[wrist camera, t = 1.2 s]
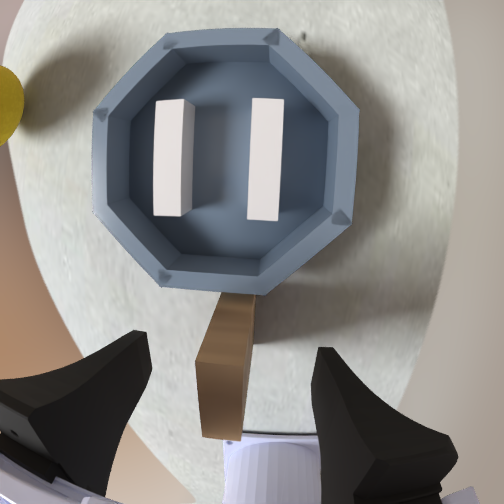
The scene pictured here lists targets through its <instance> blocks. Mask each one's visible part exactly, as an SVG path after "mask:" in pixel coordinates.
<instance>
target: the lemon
mask: <svg viewBox="0 0 504 504" xmlns="http://www.w3.org/2000/svg"><path fill="white" fill-rule="evenodd" d="M23 109H24V92H23V88H22V85H21V83H20V81H19V79H18V78H17V76H16V75H15V74H14V73H13V72H12V71H11V70H9V69H8V68H6V67H3V66H1V65H0V146H1V145H3V144H4V143H5V142H6V141H7V140H8V139H9V138H10V137H11V135H12V134H13V133H14V131H15V130H16V128H17V126H18V124H19V122H20V120H21V117H22V114H23Z"/></svg>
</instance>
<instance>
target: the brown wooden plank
mask: <svg viewBox="0 0 504 504" xmlns="http://www.w3.org/2000/svg"><path fill="white" fill-rule="evenodd" d="M255 301H256V295H254V294H240V293H227V292H222V293H221V295H220V298H219V301H218V303H217V306H216V308H215V311H214V313H213V316H212V319H211V321H210V324H209V326H208V329H207V332H206V334H205V337H204V339H203V342H202V345H201V347H200V350H199V352H198V355H197V358H196V360H195V366H196V379H197V390H198V401H199V411H200V420H201V429H202V437H206V438H213V439H221V440H230V441H240V442H241V436H242V429H243V421H244V413H245V406H246V398H247V390H248V382H249V374H250V366H251V358H252V350H253V337H254V319H255Z"/></svg>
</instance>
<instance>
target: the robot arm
mask: <svg viewBox="0 0 504 504" xmlns="http://www.w3.org/2000/svg"><path fill="white" fill-rule="evenodd" d="M151 372H152V363H151V357H150V351H149V345H148V339H147V332H143V331H137V330H133V331H131V332H129V333H127V334H126V335H124V336H122V337H121V338H119V339H117V340H116V341H114V342H112V343H111V344H109V345H107V346H105V347H104V348H102V349H100V350H99V351H97V352H95V353H93V354H91V355H89V356H87V357H85V358H83V359H81V360H79V361H77V362H75V363H73V364H70V365H68V366H65V367H63V368H60V369H57V370H53V371H50V372H47V373H43V374H40V375H35V376H30V377H24V378H16V379H2V380H0V431H1V434H0V503H1V504H122V503H119V502H116V501H113V500H111V499H108V498H105V495H106V490H107V485H108V480H109V476H110V472H111V468H112V464H113V461H114V457H115V454H116V451H117V448H118V445H119V442H120V439H121V436H122V434H123V431H124V429H125V426H126V424H127V422H128V420H129V418H130V417H131V415H132V413H133V411H134V409H135V407H136V405H137V403H138V402H139V400H140V398H141V396H142V394H143V392H144V390H145V388H146V386H147V383H148V380H149V377H150V375H151ZM311 397H312V408H313V413H314V419H315V424H316V430H317V436H289V435H264V434H249V433H242V436H241V442H240V441H230V440H223V450H224V472H225V489H224V495H223V501H222V504H480V503H479V500H478V498H477V496H476V493H475V490H474V488H473V487H472V486H470V487H468V488H466V489H463V490H460V491H458V492H455V493H452V494H450V495H447V496H445V497H444V498H442V499H440V496H439V493H440V492H441V491H442V487H441V484H440V482H441V480H442V479H443V478H444V477H445V476H446V475H447V474H448V473H449V472H450V471H451V469H452V468H453V467H454V465H455V464H456V462H457V459H458V454H457V451H456V449H455V447H454V445H453V443H452V441H451V439H450V437H449V436H448V435H446V434H443V433H440V432H437V431H435V430H432V429H430V428H427V427H425V426H423V425H421V424H419V423H417V422H415V421H413V420H411V419H409V418H408V417H406V416H404V415H403V414H401V413H399V412H398V411H396V410H395V409H393V408H392V407H391V406H389V405H388V404H387V403H385V402H384V401H383V400H382V399H380V398H379V397H378V396H377V395H375V394H374V393H373V392H372V391H371V390H370V389H369V388H368V387H367V386H366V385H365V384H364V383H363V382H362V381H361V380H360V379H359V378H358V377H357V376H356V375H355V373H354V372H353V371H352V370H351V369H350V368H349V367H348V365H347V364H346V363H345V362H344V360H343V359H342V358H341V357H340V355H339V354H338V353H337V352H336V351H335V349H334V348H333V347H318V352H317V357H316V362H315V367H314V372H313V376H312V381H311ZM320 470H321V478H320Z"/></svg>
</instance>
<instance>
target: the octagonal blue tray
mask: <svg viewBox="0 0 504 504" xmlns="http://www.w3.org/2000/svg"><path fill="white" fill-rule="evenodd" d="M359 112H360V110H359V108H357V106H356V105H355V104H354V103H353V102H352V101H351V100H350V98H349V97H348V96H347V95H346V94H345V93H344V92H343V91H342V90H341V88H340V87H339V86H338V85H337V84H336V83H335V82H334V81H333V80H332V79H331V78H330V77H329V76H328V75H327V74H326V73H325V72H324V71H323V70H322V69H321V68H320V67H319V66H318V65H317V64H316V63H315V62H314V61H313V60H312V59H311V58H310V57H309V56H308V55H307V54H306V53H305V52H304V51H303V50H302V49H300V48H299V47H298V46H297V45H296V44H295V43H294V42H293V41H292V40H291V39H289V38H288V37H287V36H286V35H285V34H284V33H283V32H281V31H280V29H278V28H276V29H272V28H224V29H206V30H194V31H183V32H175V33H167V34H165V35H164V36H163V37H162V38H161V39H160V40H159V41H158V42H157V43H156V44H155V45H153V46H152V47H151V48H150V49H149V50H148V51H147V52H146V53H145V54H144V55H143V56H142V57H141V58H140V59H139V60H138V61H137V62H136V63H135V64H134V65H133V66H132V67H131V68H130V70H129V71H128V72H127V73H126V74H125V75H124V76H123V77H122V78H121V79H120V80H119V81H118V83H117V84H116V85H115V86H114V87H113V88H112V89H111V91H110V92H109V93H108V94H107V95H106V96H105V98H104V99H103V100H102V101H101V102H100V104H99V105H98V106H97V107H96V109H95V110H94V111H93V129H92V205H93V211H92V212H93V214H95V215H96V217H97V218H98V219H99V220H100V221H101V222H102V224H103V225H104V226H105V227H106V228H107V229H108V231H109V232H110V233H111V234H112V235H113V236H114V237H115V238H116V240H117V241H118V242H119V243H120V244H121V245H122V246H123V247H124V248H125V250H126V251H127V252H128V253H129V254H130V255H131V256H132V257H133V258H134V259H135V260H136V262H137V263H138V264H139V265H140V266H141V267H142V268H143V269H144V270H145V271H146V272H147V273H148V274H149V275H150V276H151V277H152V278H153V279H154V280H155V282H156V283H157V284H158V285H159V287H161V288H162V287H169V288H180V289H191V290H202V291H214V292H227V293H240V294H254V295H263V296H265V295H267V293H269V292H270V291H271V290H272V289H274V288H275V287H276V286H277V285H279V284H280V283H281V282H282V281H284V280H285V279H286V278H287V277H289V276H290V275H291V274H292V273H294V272H295V271H296V270H297V269H298V268H300V267H301V266H302V265H303V264H305V263H306V262H307V261H308V260H309V259H311V258H312V257H313V256H314V255H316V254H317V253H318V252H319V251H320V250H322V249H323V248H324V247H325V246H326V245H328V244H329V243H330V242H331V241H332V240H334V239H335V238H336V237H337V236H338V235H340V234H341V233H342V232H343V231H344V230H345V229H347V228H348V227H349V226H351V224H352V215H353V205H354V195H355V183H356V170H357V154H358V134H359Z"/></svg>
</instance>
